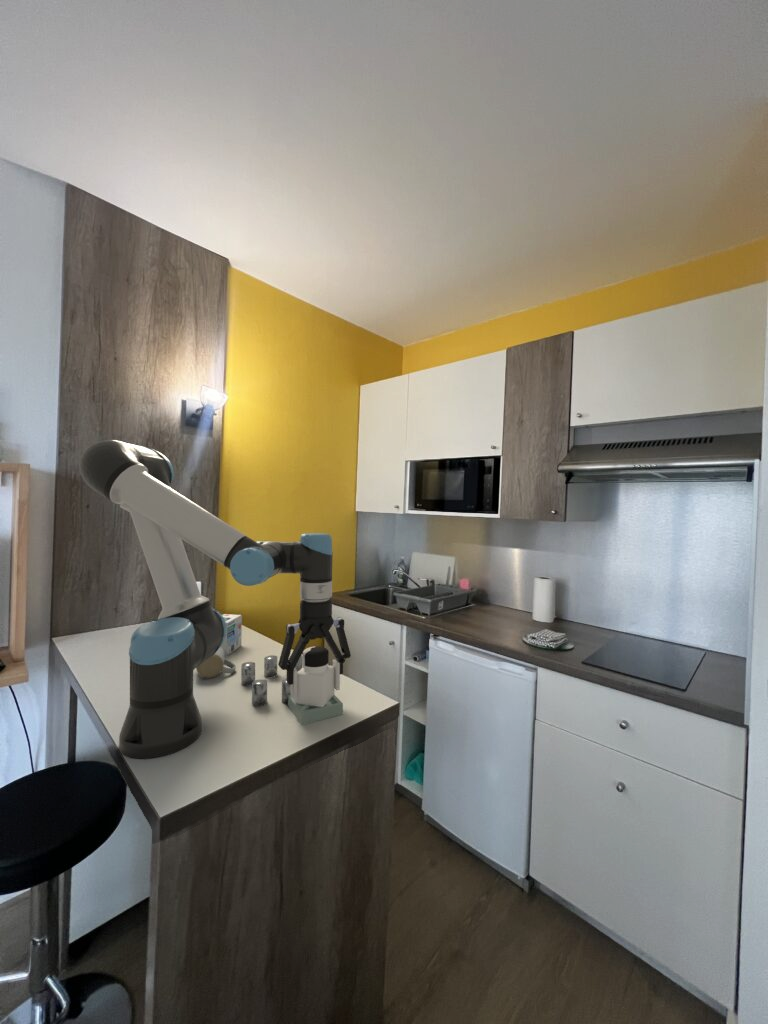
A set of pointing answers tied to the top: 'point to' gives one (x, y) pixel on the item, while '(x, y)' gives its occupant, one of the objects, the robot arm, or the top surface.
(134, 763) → the top surface
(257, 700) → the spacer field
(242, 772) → the top surface
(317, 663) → the medicine bottle
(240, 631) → the light bulb box
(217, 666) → the ceramic mug
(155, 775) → the top surface
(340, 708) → the tray
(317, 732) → the top surface
